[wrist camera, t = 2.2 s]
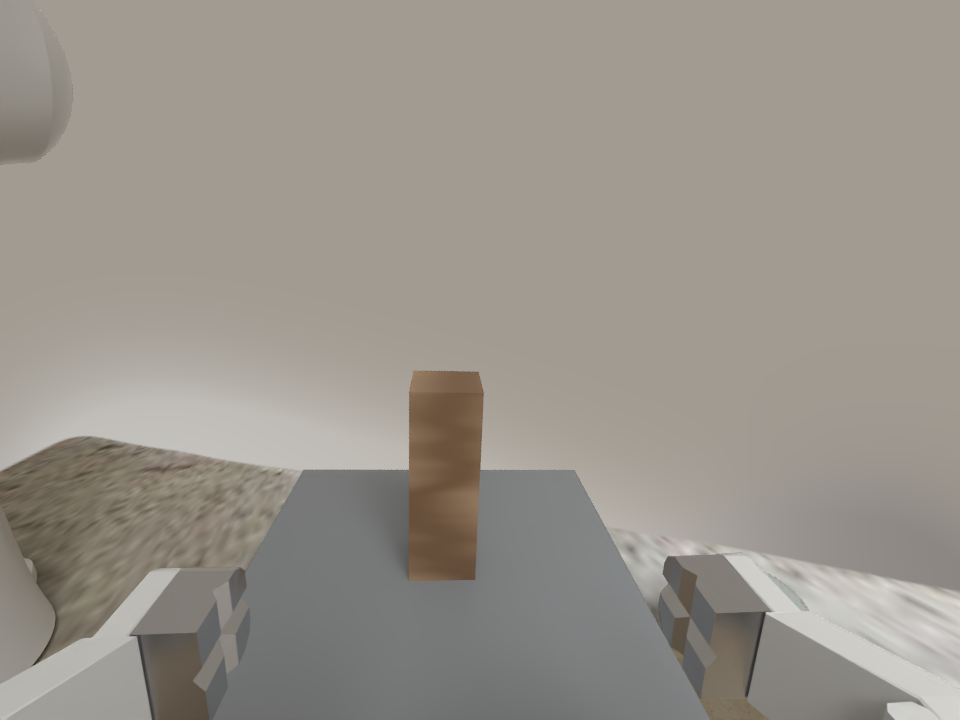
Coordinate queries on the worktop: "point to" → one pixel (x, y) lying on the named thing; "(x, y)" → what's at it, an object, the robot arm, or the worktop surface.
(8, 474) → the worktop surface
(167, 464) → the worktop surface
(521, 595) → the lid
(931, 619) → the worktop surface
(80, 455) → the worktop surface
